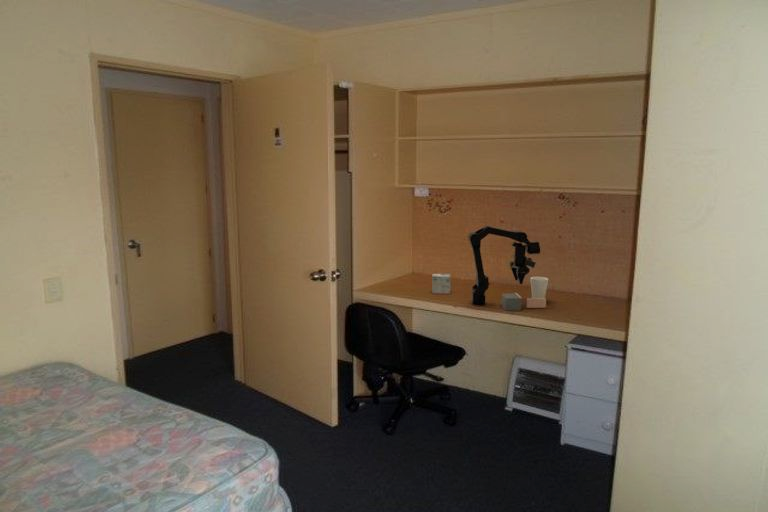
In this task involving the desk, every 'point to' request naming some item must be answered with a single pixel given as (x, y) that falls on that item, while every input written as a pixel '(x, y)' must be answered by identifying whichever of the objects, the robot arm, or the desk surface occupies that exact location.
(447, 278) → the light bulb box
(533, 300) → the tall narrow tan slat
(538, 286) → the foam cup
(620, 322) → the desk surface
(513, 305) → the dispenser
